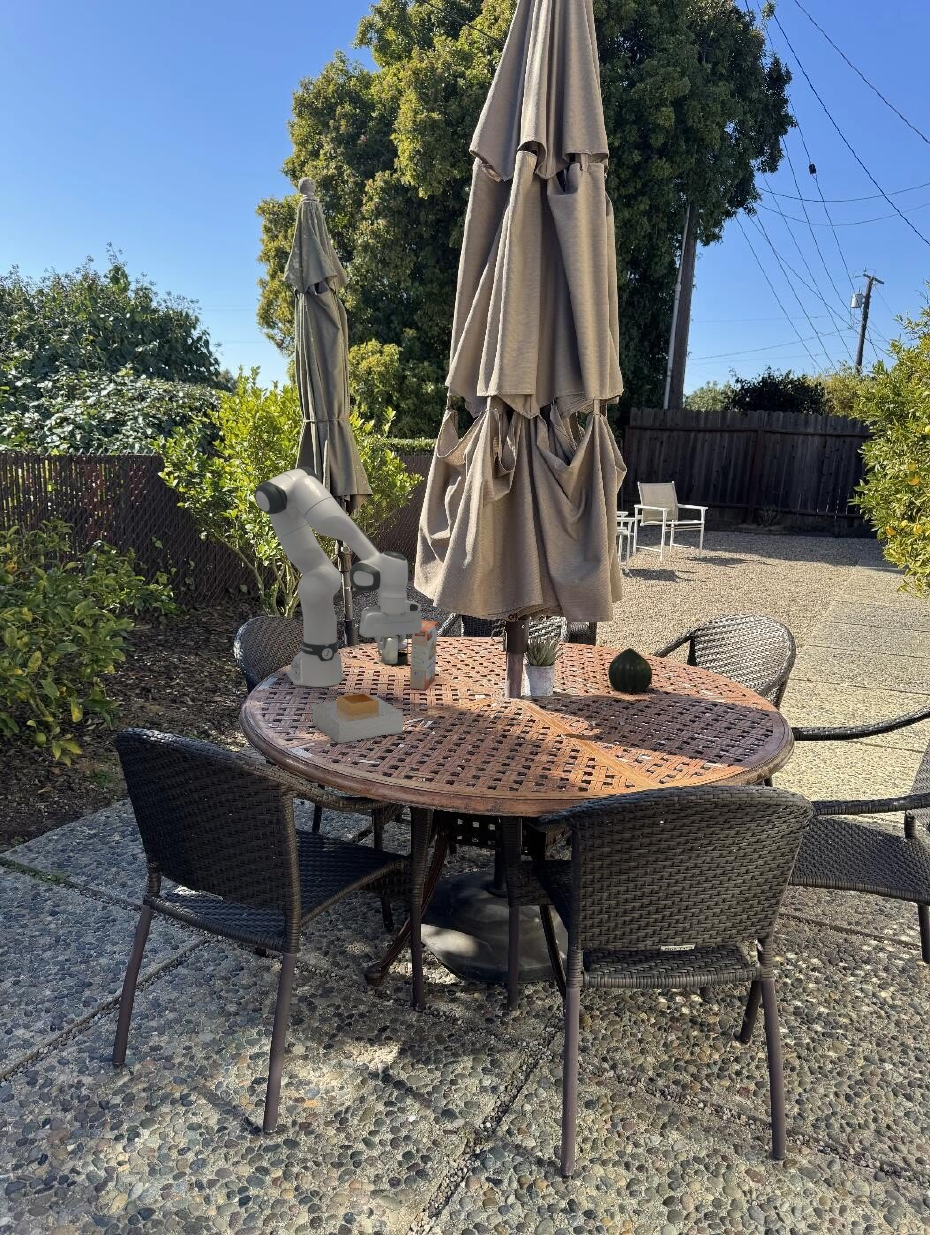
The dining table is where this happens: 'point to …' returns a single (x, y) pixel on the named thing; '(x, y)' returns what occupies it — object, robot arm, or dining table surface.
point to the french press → (400, 655)
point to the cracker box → (423, 656)
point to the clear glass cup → (389, 649)
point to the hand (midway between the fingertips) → (389, 648)
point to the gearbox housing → (357, 718)
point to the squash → (630, 672)
